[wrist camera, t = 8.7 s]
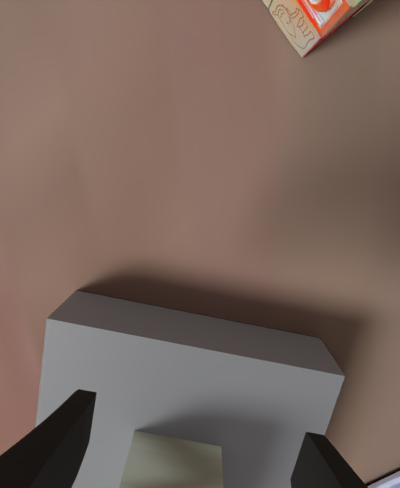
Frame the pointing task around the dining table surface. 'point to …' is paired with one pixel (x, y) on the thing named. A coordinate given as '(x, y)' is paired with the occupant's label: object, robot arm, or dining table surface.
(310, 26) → the stack of blocks
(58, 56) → the dining table surface
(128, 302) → the base block
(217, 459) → the sage cube
